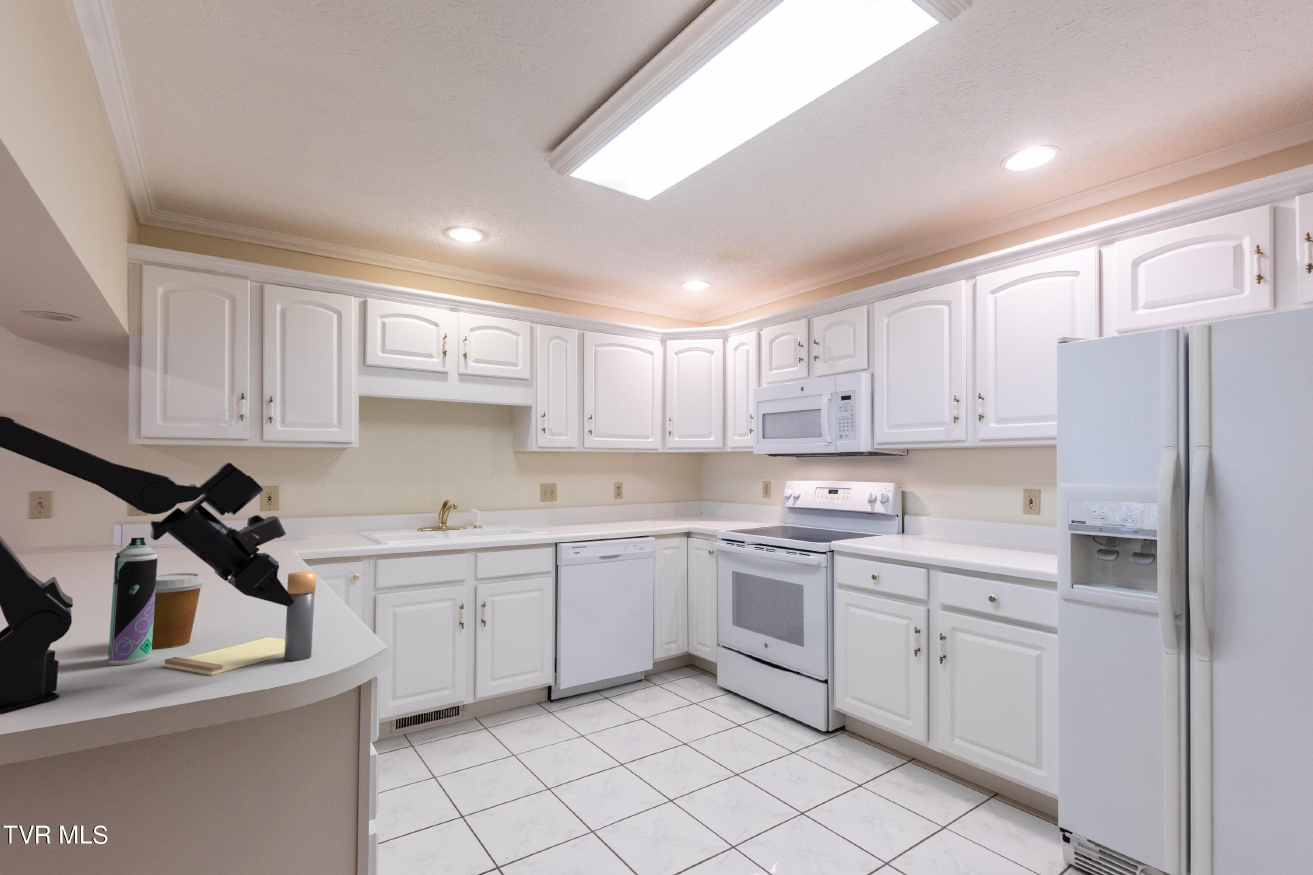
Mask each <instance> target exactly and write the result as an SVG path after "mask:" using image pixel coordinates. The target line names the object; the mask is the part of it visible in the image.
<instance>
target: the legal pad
mask: <svg viewBox="0 0 1313 875" xmlns="http://www.w3.org/2000/svg"><path fill="white" fill-rule="evenodd" d="M313 646H314V644H313V643H312V648H313ZM284 652H285V638H283V639H282V638H275V637H270V636H269V637H265V638H261V639H257V640H253V641H249V642H246V643H240V644H237V645H232V646H228V647H225V648H221V649H217V650H213V651H208V652H205V653H201V654H197V655H192V656H188V657H184V658H183V657H178V656H174V657H168V658H165V659H164V667H165V668H171V669H175V670H183V671H187V672H193V673H197V674H198V673H199V674H203V675H209V676H214V675H218V674H221V673H225V672H228V671H231V670H234V669H238V668H242V667H247V666H249V665H253V664H256V663H260V662H264V661H266V660H270V659H273V658H277V657H281V656H284Z"/></svg>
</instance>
